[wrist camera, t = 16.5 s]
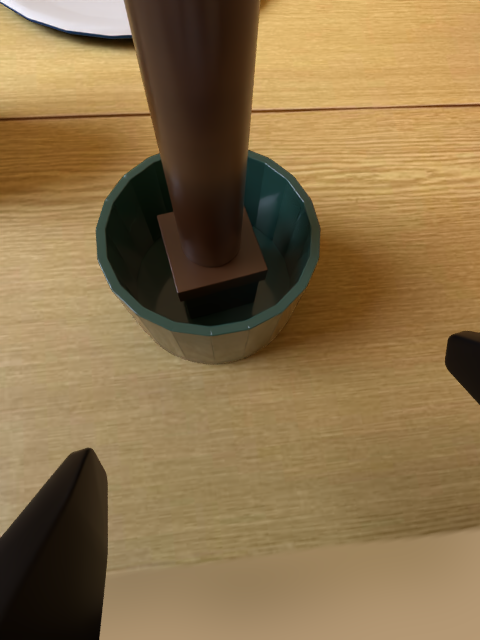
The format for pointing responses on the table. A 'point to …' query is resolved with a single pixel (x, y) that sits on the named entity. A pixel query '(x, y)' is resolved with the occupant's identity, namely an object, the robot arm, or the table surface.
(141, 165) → the green and tan cup
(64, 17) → the plate
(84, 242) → the table surface
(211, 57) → the brown stamp
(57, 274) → the table surface
